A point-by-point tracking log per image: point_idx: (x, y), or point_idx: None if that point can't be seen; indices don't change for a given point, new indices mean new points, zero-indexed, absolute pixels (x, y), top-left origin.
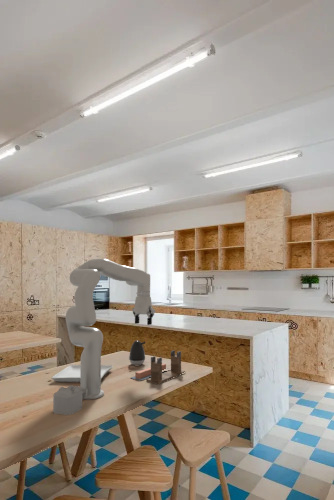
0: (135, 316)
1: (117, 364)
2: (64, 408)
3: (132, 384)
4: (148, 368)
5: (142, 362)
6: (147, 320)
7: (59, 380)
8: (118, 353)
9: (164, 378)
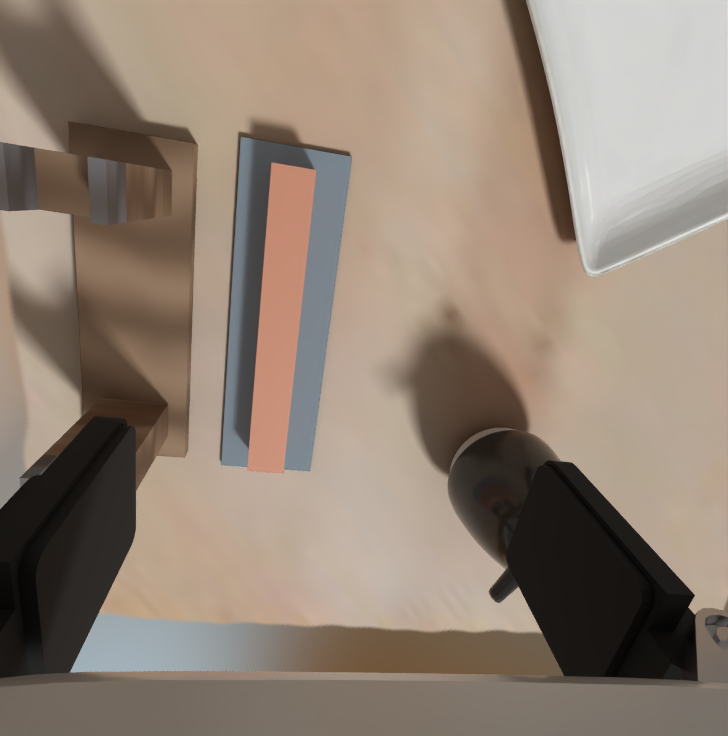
0: (689, 624)
1: (610, 404)
2: None
3: (247, 25)
4: (290, 315)
5: (450, 467)
6: (62, 486)
7: None
8: (714, 593)
9: (89, 229)
